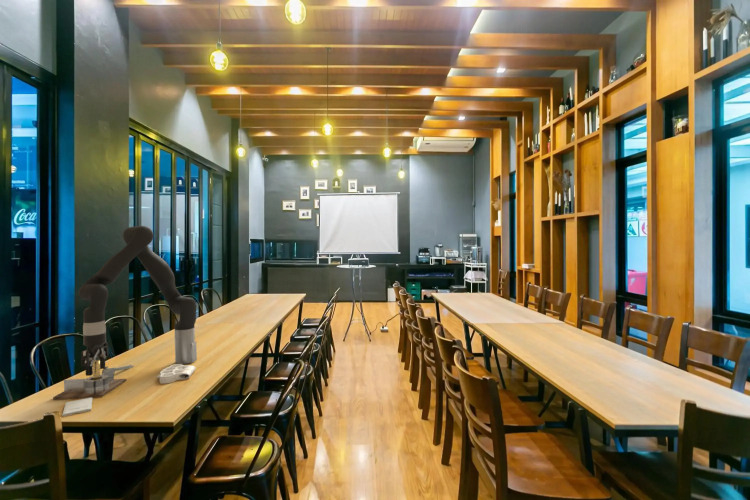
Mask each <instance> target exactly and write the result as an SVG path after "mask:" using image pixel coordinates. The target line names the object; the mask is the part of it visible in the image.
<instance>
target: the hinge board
mask: <svg viewBox="0 0 750 500" xmlns="http://www.w3.org/2000/svg"><path fill="white" fill-rule="evenodd" d="M126 382H127V378H114V380H113V381H111V382H110V383H109V389H107V390H106V391H103V392H100V393H94V394H85V393H84V391H80V392H64V390H63V391H62V392H59V393H57V394H56V395H54V396H52V400H53V401H55V400H72V399H86V398H103V397H105V396H106V395H107V394H109V393H110V392H112V391H113V390H115V389H116V388H118V387H119V386H121V385H122V384H124V383H126Z"/></svg>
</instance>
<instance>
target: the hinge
mask: <svg viewBox="0 0 750 500" xmlns="http://www.w3.org/2000/svg"><path fill="white" fill-rule="evenodd" d="M114 374H115V373H114V369H111V370H109V371H107V372H105V373H104V374H102V373H101V374H100V379H97V380H93V375H91V376H89V377H86V378H69V379H67V378H66V379H64V380H63V391H64V392H80V391H84V393H85V394H94V393H100V392H103V391H106V390H107V389H109V383H110V382H111V381H113V380H114V379H115V377H114V376H115V375H114Z"/></svg>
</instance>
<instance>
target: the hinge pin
mask: <svg viewBox="0 0 750 500" xmlns="http://www.w3.org/2000/svg"><path fill="white" fill-rule="evenodd" d="M92 366H93V375H92V376H93V380H97V379H100V375H101V369H100V359H96V360H95V361H94V362H93V365H92Z"/></svg>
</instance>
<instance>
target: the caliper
mask: <svg viewBox="0 0 750 500" xmlns="http://www.w3.org/2000/svg"><path fill="white" fill-rule="evenodd" d="M133 367H134V365H132V364H128V365H122V366H119V367H109V366H105V368H104V369H101V370H102V371H101V375H102V374H104V373H105V372H107V371H109V370H111V369H114V374H115V372H118V371H123V370H130V369H131V368H133Z"/></svg>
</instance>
